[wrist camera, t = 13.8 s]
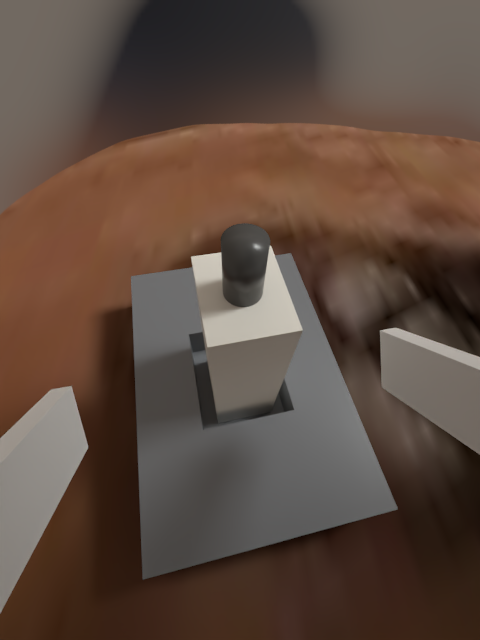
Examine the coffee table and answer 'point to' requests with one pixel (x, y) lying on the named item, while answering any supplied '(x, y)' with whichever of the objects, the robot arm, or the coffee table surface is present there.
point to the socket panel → (240, 438)
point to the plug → (245, 322)
